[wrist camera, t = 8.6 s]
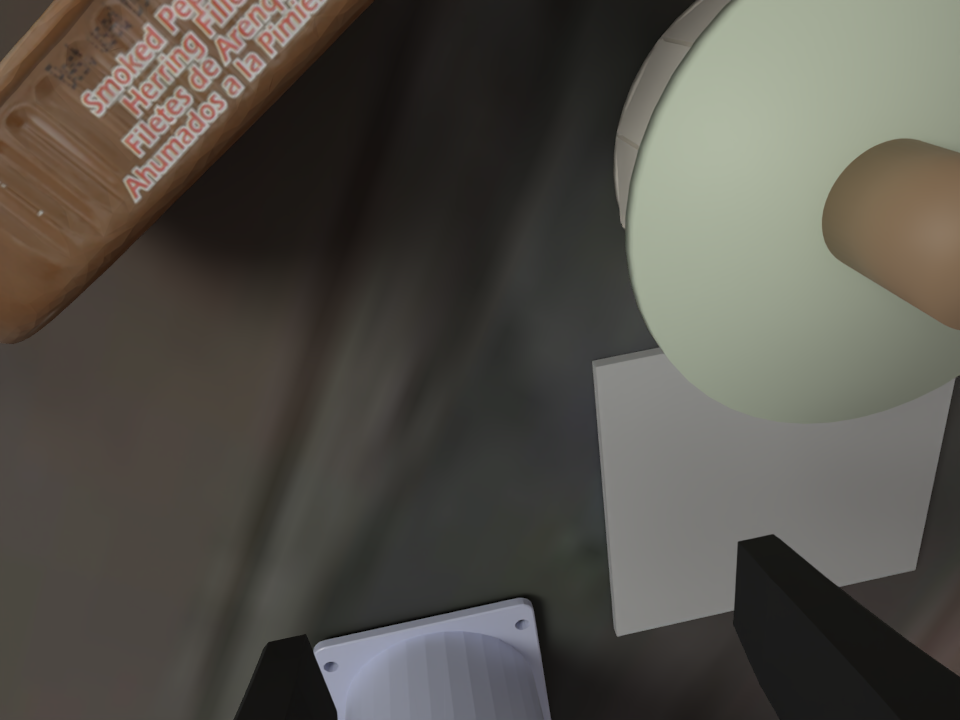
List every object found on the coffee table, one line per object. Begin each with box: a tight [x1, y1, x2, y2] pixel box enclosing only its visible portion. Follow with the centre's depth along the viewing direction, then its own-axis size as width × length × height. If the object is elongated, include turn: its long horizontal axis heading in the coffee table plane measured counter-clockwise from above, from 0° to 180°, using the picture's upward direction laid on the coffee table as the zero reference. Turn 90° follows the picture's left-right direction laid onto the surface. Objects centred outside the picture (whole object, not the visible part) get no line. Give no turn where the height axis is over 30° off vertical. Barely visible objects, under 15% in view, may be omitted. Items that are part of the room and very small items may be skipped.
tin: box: [0, 0, 375, 344], centre depth 13 cm, size 15×3×8 cm, turn 130°
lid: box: [625, 0, 960, 424], centre depth 14 cm, size 11×11×4 cm
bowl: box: [614, 0, 731, 229], centre depth 18 cm, size 9×9×4 cm
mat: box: [592, 347, 955, 636], centre depth 25 cm, size 12×12×1 cm
